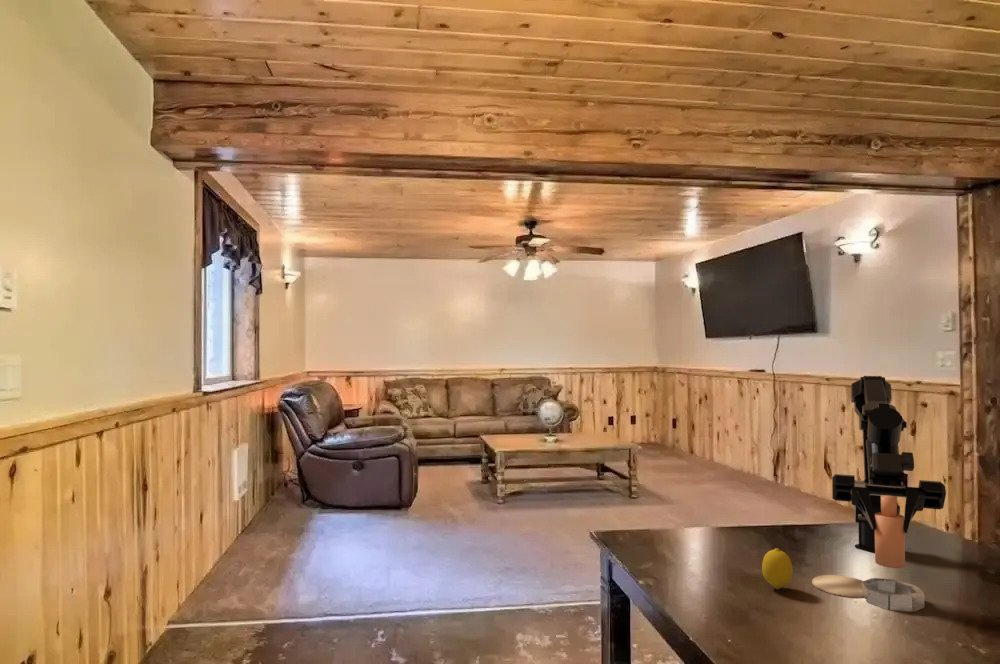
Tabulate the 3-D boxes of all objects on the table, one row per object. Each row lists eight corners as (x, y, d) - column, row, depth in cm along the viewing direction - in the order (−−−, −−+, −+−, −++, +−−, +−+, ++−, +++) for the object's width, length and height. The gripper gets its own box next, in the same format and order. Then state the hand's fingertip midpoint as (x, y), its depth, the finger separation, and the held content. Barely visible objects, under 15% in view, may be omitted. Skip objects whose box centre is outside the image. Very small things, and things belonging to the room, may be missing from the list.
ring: (853, 597, 124) (853, 584, 124) (881, 588, 129) (881, 575, 129) (905, 615, 116) (904, 601, 116) (932, 604, 121) (932, 590, 121)
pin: (869, 562, 124) (868, 495, 124) (884, 557, 126) (883, 492, 126) (895, 569, 119) (894, 501, 120) (910, 565, 122) (909, 497, 122)
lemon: (791, 585, 130) (790, 545, 130) (794, 596, 125) (793, 554, 125) (761, 582, 132) (761, 542, 132) (763, 592, 127) (762, 551, 127)
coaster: (800, 583, 131) (800, 581, 131) (833, 573, 137) (833, 571, 137) (853, 601, 122) (853, 599, 122) (886, 590, 128) (886, 588, 128)
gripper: (831, 433, 131) (833, 501, 121) (943, 438, 122) (955, 512, 112) (831, 466, 138) (833, 533, 128) (937, 473, 129) (948, 545, 119)
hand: (889, 530), depth 122 cm, fingers closed on pin, 5 cm apart
